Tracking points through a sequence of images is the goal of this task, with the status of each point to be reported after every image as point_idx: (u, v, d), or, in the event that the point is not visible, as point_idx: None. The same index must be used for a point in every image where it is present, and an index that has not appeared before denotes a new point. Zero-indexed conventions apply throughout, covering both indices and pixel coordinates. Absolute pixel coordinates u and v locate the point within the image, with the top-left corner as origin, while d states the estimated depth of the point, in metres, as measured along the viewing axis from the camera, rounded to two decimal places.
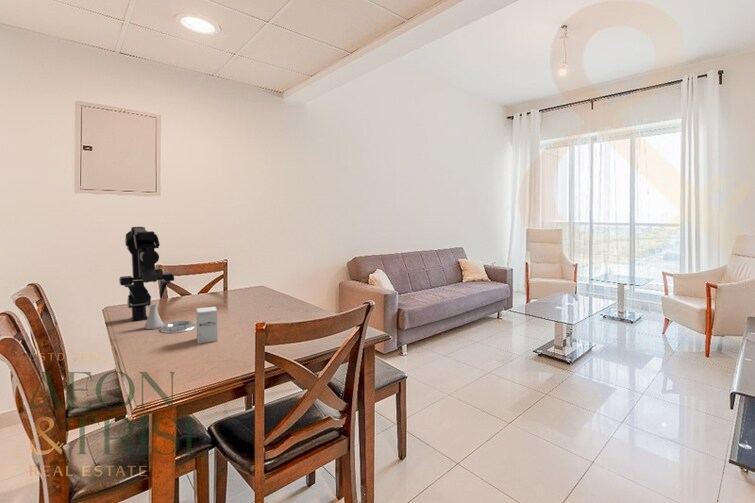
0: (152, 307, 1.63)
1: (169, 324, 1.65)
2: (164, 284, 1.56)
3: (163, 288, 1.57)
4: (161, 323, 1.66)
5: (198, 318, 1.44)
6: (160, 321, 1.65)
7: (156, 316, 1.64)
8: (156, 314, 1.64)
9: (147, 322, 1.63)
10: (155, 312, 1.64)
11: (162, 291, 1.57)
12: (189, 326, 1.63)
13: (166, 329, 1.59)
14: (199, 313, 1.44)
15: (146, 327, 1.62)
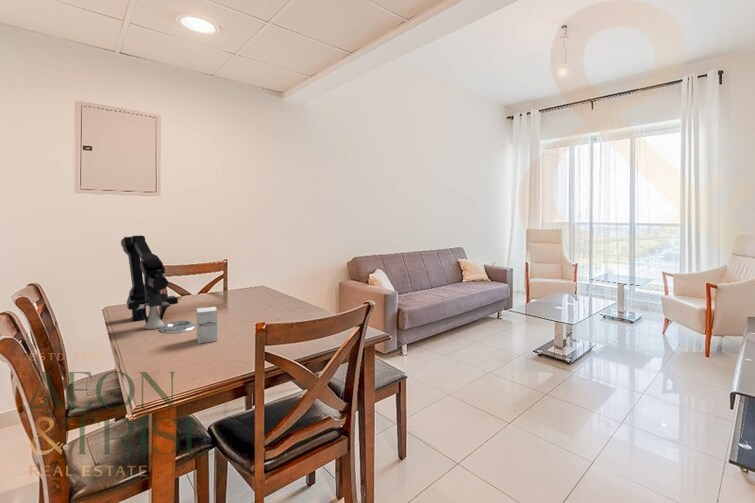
0: (152, 307, 1.63)
1: (169, 324, 1.65)
2: (164, 308, 1.65)
3: (163, 311, 1.66)
4: (161, 323, 1.65)
5: (198, 318, 1.44)
6: (160, 321, 1.65)
7: (156, 316, 1.64)
8: (156, 314, 1.64)
9: (147, 322, 1.63)
10: (155, 312, 1.64)
11: (162, 314, 1.66)
12: (189, 326, 1.63)
13: (166, 329, 1.59)
14: (199, 313, 1.44)
15: (146, 327, 1.62)
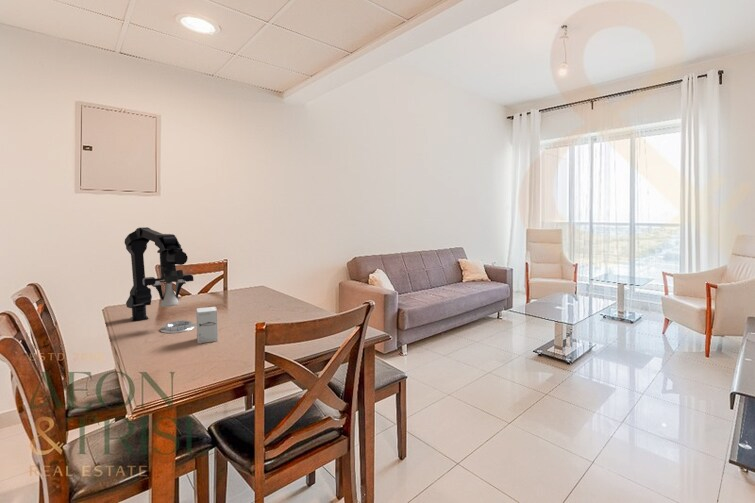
0: (168, 284, 1.61)
1: (169, 324, 1.65)
2: (179, 285, 1.63)
3: (179, 289, 1.64)
4: (177, 301, 1.63)
5: (198, 318, 1.44)
6: (175, 299, 1.63)
7: (172, 294, 1.62)
8: (172, 292, 1.62)
9: (163, 300, 1.61)
10: (171, 290, 1.62)
11: (178, 292, 1.64)
12: (189, 326, 1.63)
13: (166, 329, 1.59)
14: (199, 313, 1.44)
15: (162, 305, 1.60)
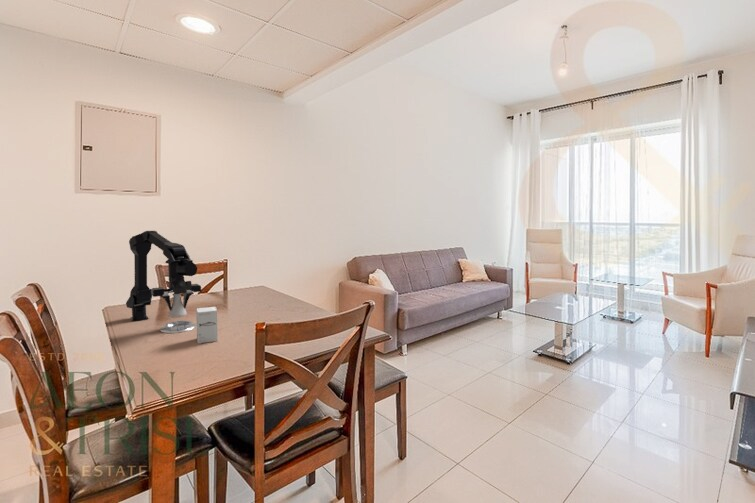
0: (176, 295, 1.61)
1: (169, 324, 1.65)
2: (187, 295, 1.64)
3: (186, 299, 1.64)
4: (185, 312, 1.64)
5: (198, 318, 1.44)
6: (183, 309, 1.63)
7: (180, 304, 1.62)
8: (180, 302, 1.63)
9: (171, 310, 1.61)
10: (179, 300, 1.62)
11: (185, 302, 1.64)
12: (189, 326, 1.63)
13: (166, 329, 1.59)
14: (199, 313, 1.44)
15: (170, 315, 1.61)
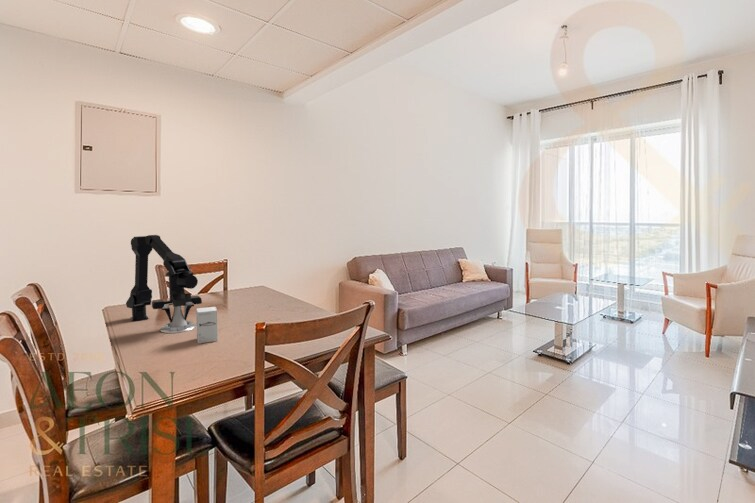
0: (176, 307, 1.62)
1: (169, 324, 1.65)
2: (188, 307, 1.64)
3: (187, 311, 1.64)
4: (185, 323, 1.64)
5: (198, 318, 1.44)
6: (184, 321, 1.64)
7: (180, 316, 1.63)
8: (180, 314, 1.63)
9: (171, 322, 1.62)
10: (179, 312, 1.63)
11: (186, 314, 1.65)
12: (189, 326, 1.63)
13: (166, 329, 1.59)
14: (199, 313, 1.44)
15: None
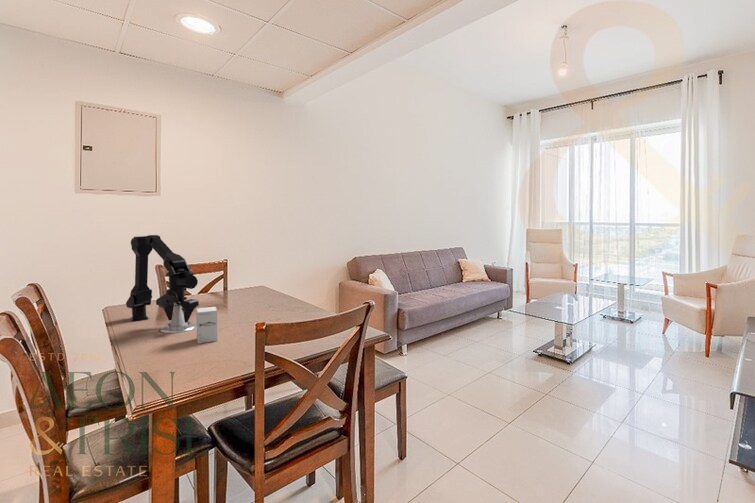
0: (176, 307, 1.62)
1: (169, 324, 1.65)
2: (183, 310, 1.59)
3: (184, 314, 1.60)
4: (185, 323, 1.64)
5: (198, 318, 1.44)
6: (184, 321, 1.64)
7: (180, 316, 1.63)
8: (180, 314, 1.63)
9: (171, 322, 1.62)
10: (179, 312, 1.63)
11: (184, 316, 1.61)
12: (189, 326, 1.63)
13: (166, 329, 1.59)
14: (199, 313, 1.44)
15: None
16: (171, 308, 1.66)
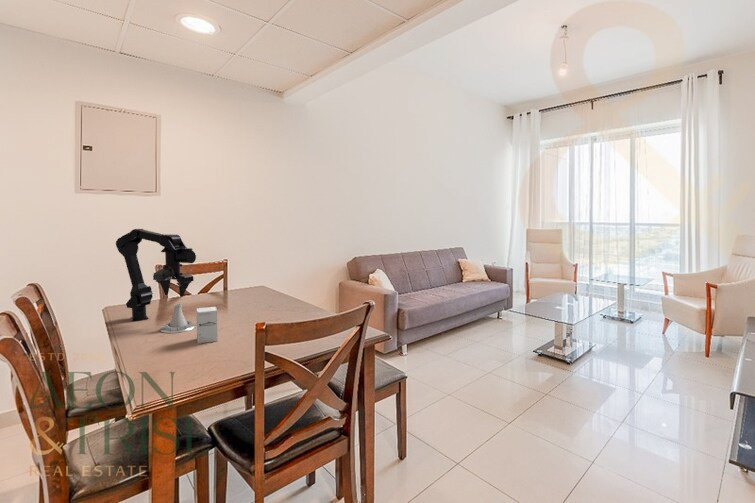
0: (176, 307, 1.62)
1: (169, 324, 1.65)
2: (179, 285, 1.67)
3: (180, 288, 1.68)
4: (185, 323, 1.64)
5: (198, 318, 1.44)
6: (184, 321, 1.64)
7: (180, 316, 1.63)
8: (180, 314, 1.63)
9: (171, 322, 1.62)
10: (179, 312, 1.63)
11: (180, 291, 1.69)
12: (189, 326, 1.63)
13: (166, 329, 1.59)
14: (199, 313, 1.44)
15: None
16: (167, 283, 1.74)
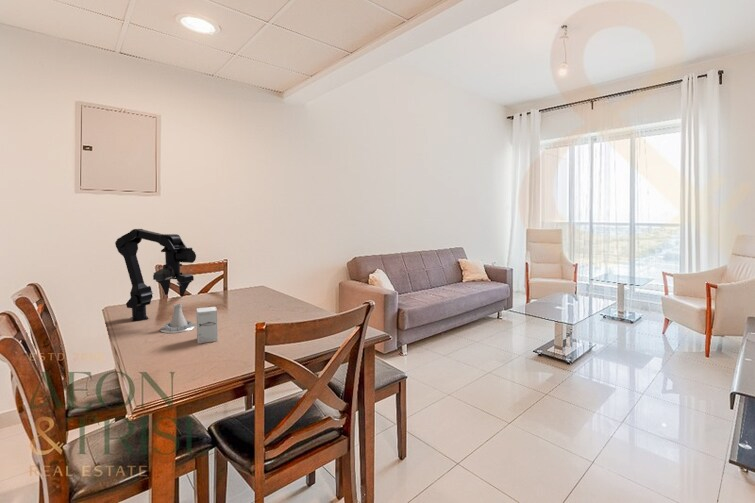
0: (176, 307, 1.62)
1: (169, 324, 1.65)
2: (179, 284, 1.67)
3: (180, 288, 1.68)
4: (185, 323, 1.64)
5: (198, 318, 1.44)
6: (184, 321, 1.64)
7: (180, 316, 1.63)
8: (180, 314, 1.63)
9: (171, 322, 1.62)
10: (179, 312, 1.63)
11: (180, 290, 1.69)
12: (189, 326, 1.63)
13: (166, 329, 1.59)
14: (199, 313, 1.44)
15: None
16: (167, 283, 1.74)
